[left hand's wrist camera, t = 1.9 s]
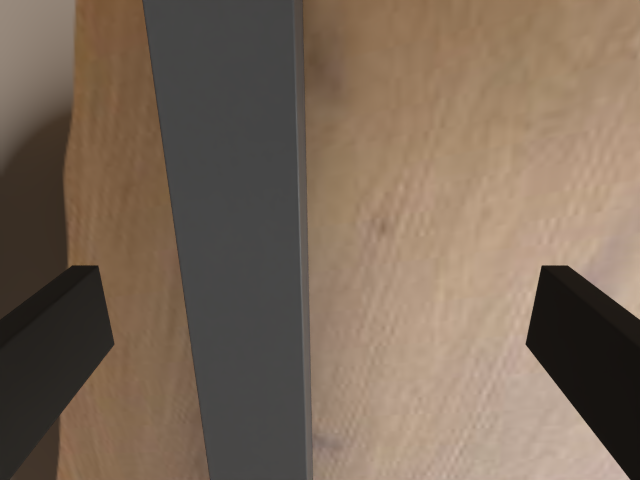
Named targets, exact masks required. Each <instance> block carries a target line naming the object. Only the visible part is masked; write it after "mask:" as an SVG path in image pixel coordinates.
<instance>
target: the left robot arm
mask: <svg viewBox="0 0 640 480" xmlns="http://www.w3.org/2000/svg"><path fill="white" fill-rule="evenodd" d="M113 346H114V340H113V335H112V330H111V325H110V320H109V316H108V311H107V306H106V301H105V296H104V291H103V286H102V281H101V277H100V272H99V267H98V266H71V267H70V268H68V269H67V270H66V271H64V272H63V273H62V274H60V275H59V276H58V277H56V278H55V279H54V280H52V281H51V282H50V283H49V284H47V285H46V286H45V287H43V288H42V289H41V290H39V291H38V292H37V293H35V294H34V295H33V296H31V297H30V298H29V299H27V300H26V301H25V302H23V303H22V304H21V305H19V306H18V307H17V308H15V309H14V310H13V311H11V312H10V313H9V314H7V315H6V316H5V317H3V318H2V319H1V320H0V480H10V478H11V477H12V476H13V475H14V473H15V472H16V471H17V469H18V468H19V467H20V466H21V464H22V463H23V462H24V460H25V459H26V458H27V457H28V455H29V454H30V453H31V451H32V450H33V449H34V448H35V446H36V445H37V444H38V442H39V441H40V440H41V438H42V437H43V436H44V435H45V433H46V432H47V431H48V429H49V428H50V427H51V426H52V424H53V423H54V422H55V420H56V419H57V418H58V417H59V415H60V414H61V413H62V411H63V410H64V409H65V408H66V406H67V405H68V404H69V402H70V401H71V400H72V398H73V397H74V396H75V395H76V393H77V392H78V391H79V389H80V388H81V387H82V386H83V384H84V383H85V382H86V380H87V379H88V378H89V377H90V375H91V374H92V373H93V371H94V370H95V369H96V368H97V366H98V365H99V364H100V362H101V361H102V360H103V358H104V357H105V356H106V355H107V353H108V352H109V351H110V349H111V348H112V347H113ZM526 346H527V347H528V348H529V349H530V351H531V352H532V353H533V355H534V356H535V357H536V358H537V360H538V361H539V362H540V364H541V365H542V366H543V368H544V369H545V370H546V371H547V373H548V374H549V375H550V377H551V378H552V379H553V380H554V382H555V383H556V384H557V386H558V387H559V388H560V389H561V391H562V392H563V393H564V395H565V396H566V397H567V398H568V400H569V401H570V402H571V404H572V405H573V406H574V408H575V409H576V410H577V411H578V413H579V414H580V415H581V417H582V418H583V419H584V420H585V422H586V423H587V424H588V426H589V427H590V428H591V429H592V431H593V432H594V433H595V435H596V436H597V437H598V438H599V440H600V441H601V442H602V444H603V445H604V446H605V448H606V449H607V450H608V451H609V453H610V454H611V455H612V457H613V458H614V459H615V460H616V462H617V463H618V464H619V466H620V467H621V468H622V469H623V471H624V472H625V473H626V475H627V476H628V477H629V479H630V480H640V320H639V319H638V318H637V317H635V316H634V315H633V314H631V313H630V312H629V311H627V310H626V309H625V308H623V307H622V306H621V305H619V304H618V303H617V302H615V301H614V300H613V299H611V298H610V297H609V296H607V295H606V294H605V293H603V292H602V291H601V290H599V289H598V288H597V287H595V286H594V285H593V284H591V283H590V282H589V281H588V280H586V279H585V278H584V277H582V276H581V275H580V274H578V273H577V272H576V271H574V270H573V269H572V268H570V267H569V266H542V267H541V272H540V277H539V281H538V286H537V291H536V296H535V301H534V306H533V311H532V316H531V320H530V325H529V330H528V335H527V340H526Z"/></svg>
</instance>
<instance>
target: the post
mask: <svg viewBox="0 0 640 480" xmlns="http://www.w3.org/2000/svg"><path fill="white" fill-rule="evenodd" d="M142 1H143V8H144V15H145V22H146V29H147V36H148V43H149V51H150V58H151V65H152V72H153V79H154V86H155V93H156V100H157V107H158V114H159V121H160V129H161V136H162V143H163V150H164V157H165V164H166V171H167V178H168V185H169V192H170V199H171V207H172V214H173V221H174V228H175V235H176V242H177V249H178V256H179V263H180V270H181V277H182V284H183V292H184V299H185V306H186V313H187V320H188V327H189V334H190V341H191V348H192V355H193V362H194V370H195V377H196V384H197V391H198V398H199V405H200V412H201V419H202V426H203V433H204V440H205V448H206V455H207V462H208V469H209V476H210V480H313V460H312V414H311V367H310V321H309V274H308V228H307V181H306V135H305V88H304V42H303V0H142Z"/></svg>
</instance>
